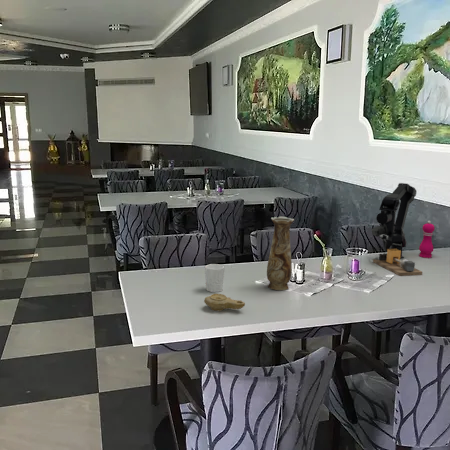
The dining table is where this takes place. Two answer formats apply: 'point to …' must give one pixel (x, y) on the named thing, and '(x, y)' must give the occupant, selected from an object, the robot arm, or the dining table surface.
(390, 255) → the sleeve
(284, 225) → the vase
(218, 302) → the oil lamp
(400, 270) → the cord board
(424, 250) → the pepper mill
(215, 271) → the white cup
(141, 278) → the dining table surface
